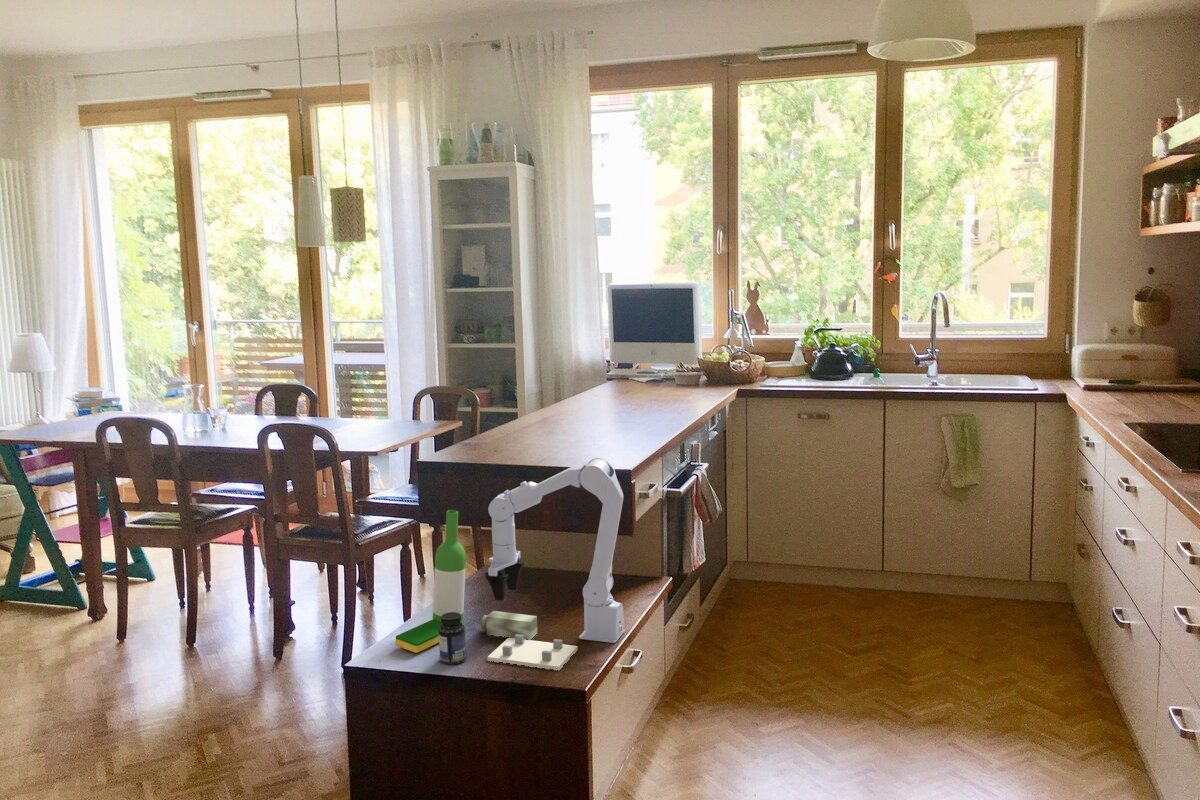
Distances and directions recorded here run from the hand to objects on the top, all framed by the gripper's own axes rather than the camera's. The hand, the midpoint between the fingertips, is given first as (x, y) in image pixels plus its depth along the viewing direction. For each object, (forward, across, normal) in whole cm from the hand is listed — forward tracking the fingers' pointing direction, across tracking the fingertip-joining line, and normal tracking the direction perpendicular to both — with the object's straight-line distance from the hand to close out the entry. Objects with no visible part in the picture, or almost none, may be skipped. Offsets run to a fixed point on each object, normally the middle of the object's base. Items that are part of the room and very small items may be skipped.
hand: (506, 594), depth 245 cm
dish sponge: (+9, +13, -16) cm, 23 cm away
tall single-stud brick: (+10, +2, +2) cm, 10 cm away
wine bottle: (+9, +3, -16) cm, 18 cm away
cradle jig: (+10, +12, +12) cm, 20 cm away
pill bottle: (+10, +20, -5) cm, 23 cm away
